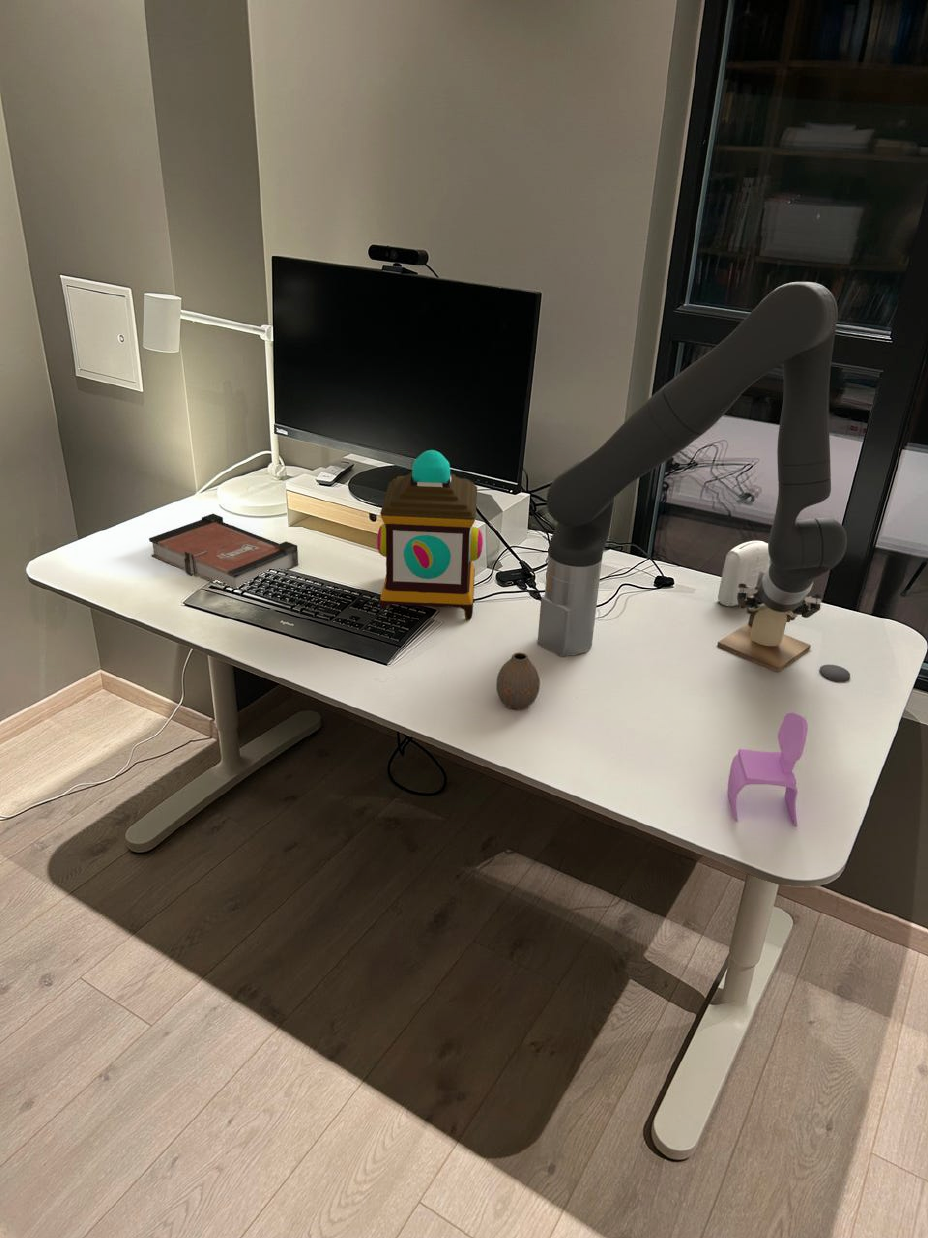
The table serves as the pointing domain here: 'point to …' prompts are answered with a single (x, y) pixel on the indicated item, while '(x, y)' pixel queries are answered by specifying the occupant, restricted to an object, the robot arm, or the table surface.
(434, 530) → the decorative lantern
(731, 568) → the photo printer
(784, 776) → the toy chair
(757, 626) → the candle
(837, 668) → the pad
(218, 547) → the book
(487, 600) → the table surface
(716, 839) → the table surface
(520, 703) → the vase
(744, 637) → the stand with wooden base
